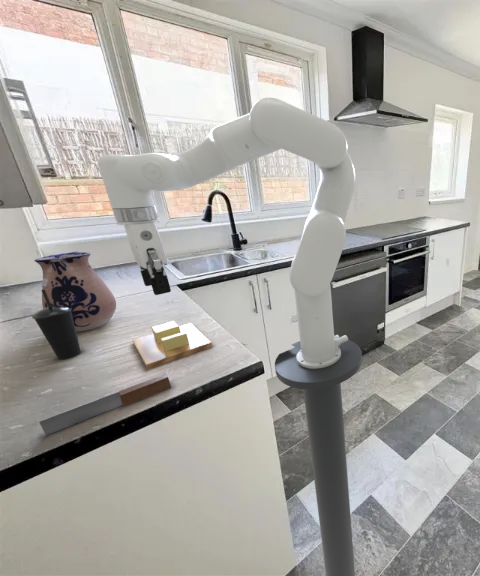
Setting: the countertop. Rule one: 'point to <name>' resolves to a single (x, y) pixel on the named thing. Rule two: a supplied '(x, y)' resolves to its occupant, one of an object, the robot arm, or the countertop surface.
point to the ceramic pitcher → (77, 289)
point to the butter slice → (174, 341)
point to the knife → (105, 404)
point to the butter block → (165, 330)
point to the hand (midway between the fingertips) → (157, 288)
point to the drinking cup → (58, 329)
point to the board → (157, 356)
